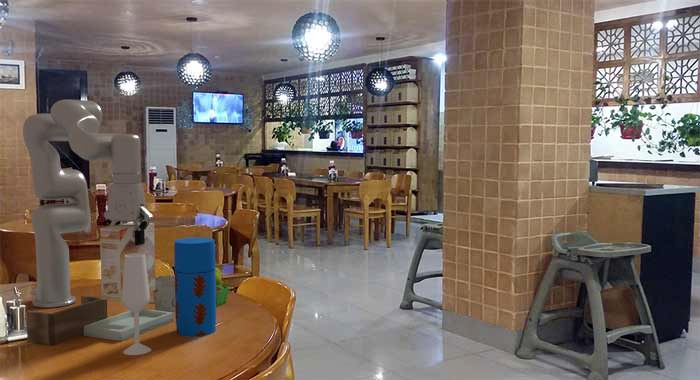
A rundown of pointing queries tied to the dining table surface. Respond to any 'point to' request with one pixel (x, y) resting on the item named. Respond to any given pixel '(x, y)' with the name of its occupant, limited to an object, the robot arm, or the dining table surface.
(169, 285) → the mug
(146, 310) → the tray
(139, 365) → the dining table surface
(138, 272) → the champagne flute
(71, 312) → the holder
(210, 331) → the thermos
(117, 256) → the coffeecake box
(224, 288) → the fruit basket
